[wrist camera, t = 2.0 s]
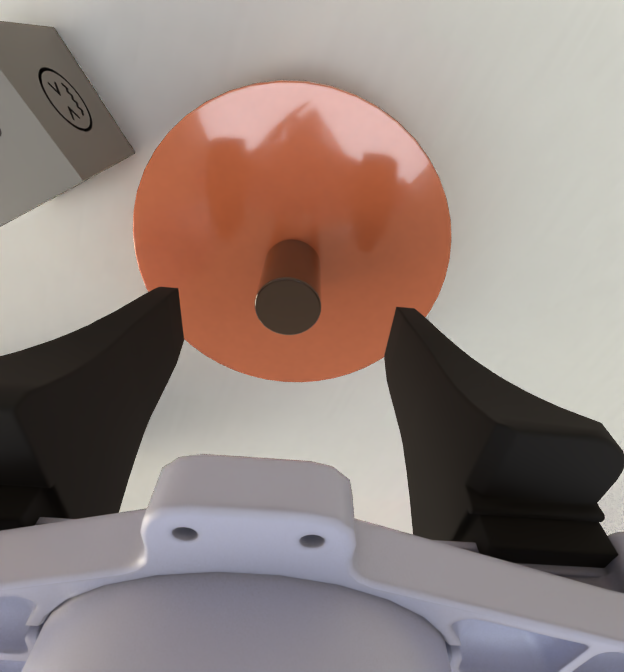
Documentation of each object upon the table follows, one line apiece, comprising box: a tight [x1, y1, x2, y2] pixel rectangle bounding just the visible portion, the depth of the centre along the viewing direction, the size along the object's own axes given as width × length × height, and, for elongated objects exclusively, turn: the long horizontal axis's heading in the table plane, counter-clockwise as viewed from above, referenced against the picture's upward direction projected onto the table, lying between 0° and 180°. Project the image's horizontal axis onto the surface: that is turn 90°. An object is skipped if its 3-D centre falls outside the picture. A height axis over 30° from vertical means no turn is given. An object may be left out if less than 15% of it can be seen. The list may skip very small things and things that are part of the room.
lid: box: [133, 80, 451, 382], centre depth 16 cm, size 13×13×5 cm
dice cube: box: [0, 21, 135, 227], centre depth 15 cm, size 5×5×5 cm
